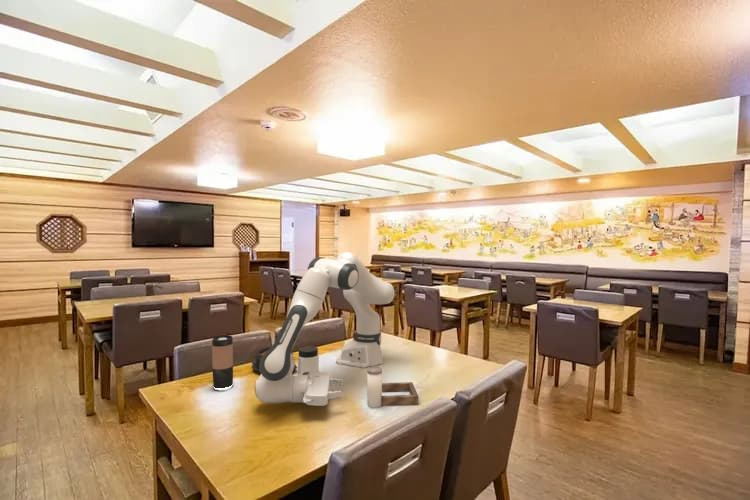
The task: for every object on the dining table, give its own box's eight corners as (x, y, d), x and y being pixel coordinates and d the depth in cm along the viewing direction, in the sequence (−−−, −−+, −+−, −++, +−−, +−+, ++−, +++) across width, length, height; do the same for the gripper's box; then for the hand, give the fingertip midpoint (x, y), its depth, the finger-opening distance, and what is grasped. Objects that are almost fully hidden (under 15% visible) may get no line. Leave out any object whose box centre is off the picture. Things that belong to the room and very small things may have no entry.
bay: (382, 405, 132) (382, 397, 132) (379, 390, 145) (379, 383, 145) (418, 404, 133) (418, 396, 132) (412, 389, 146) (412, 382, 145)
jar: (320, 378, 157) (320, 350, 156) (301, 381, 153) (301, 353, 153) (314, 371, 165) (314, 344, 165) (296, 374, 161) (296, 347, 161)
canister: (365, 407, 131) (365, 370, 130) (369, 400, 136) (369, 365, 135) (380, 409, 129) (380, 372, 129) (383, 402, 135) (383, 366, 134)
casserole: (307, 370, 166) (307, 352, 166) (269, 382, 153) (269, 362, 153) (277, 357, 184) (277, 341, 184) (241, 367, 171) (241, 349, 170)
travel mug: (237, 385, 149) (237, 336, 149) (222, 393, 142) (221, 341, 142) (223, 382, 153) (223, 334, 152) (208, 389, 146) (207, 339, 145)
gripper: (298, 392, 120) (341, 391, 121) (306, 369, 141) (342, 368, 142) (298, 411, 120) (341, 410, 121) (306, 386, 141) (342, 385, 142)
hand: (342, 387), depth 132 cm, fingers open, 8 cm apart
